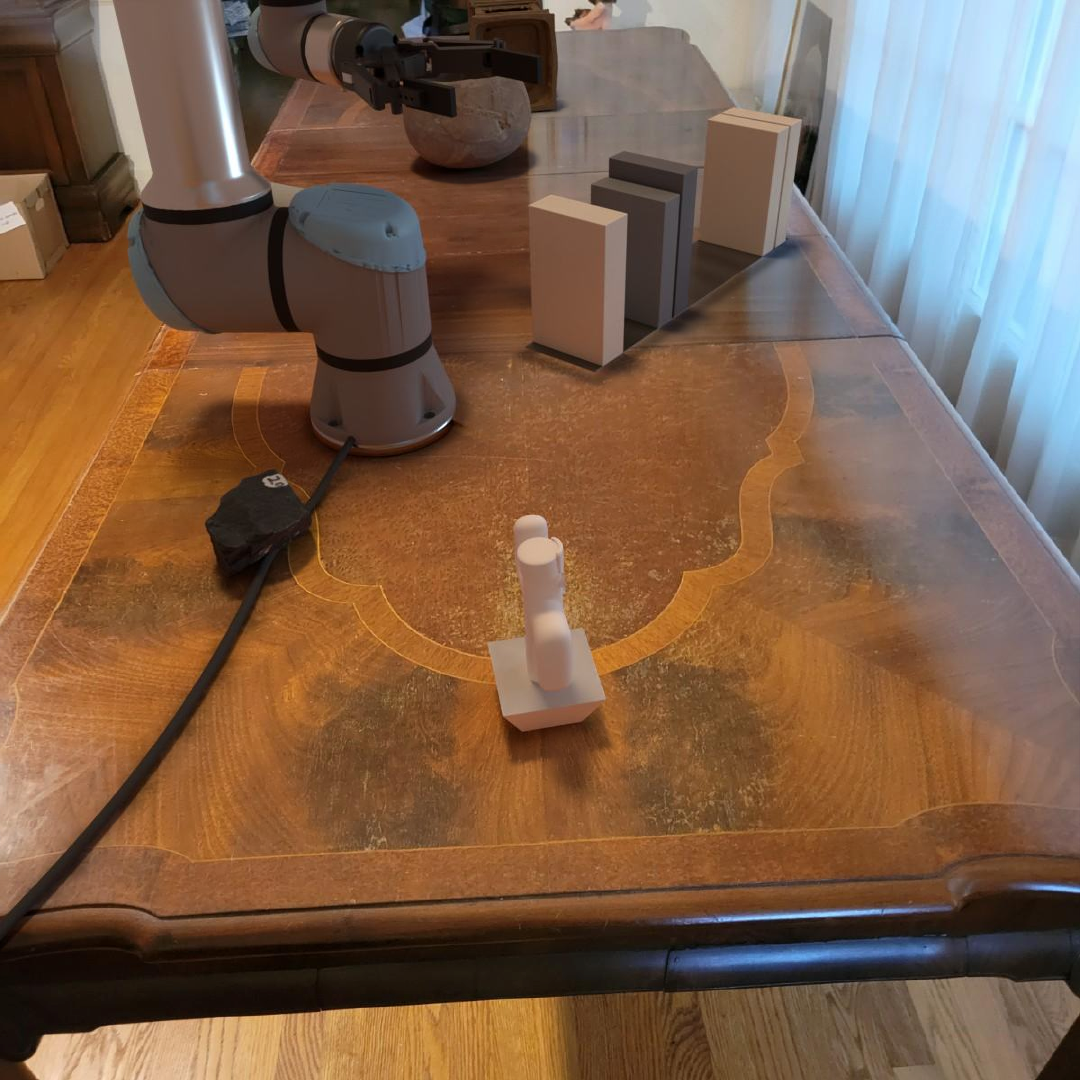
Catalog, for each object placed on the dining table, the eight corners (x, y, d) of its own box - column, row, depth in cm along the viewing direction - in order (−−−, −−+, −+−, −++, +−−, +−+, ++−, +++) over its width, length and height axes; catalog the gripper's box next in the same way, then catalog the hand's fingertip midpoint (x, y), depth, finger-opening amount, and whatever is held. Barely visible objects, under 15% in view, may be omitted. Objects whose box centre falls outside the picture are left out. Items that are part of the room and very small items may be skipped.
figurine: (508, 763, 68) (496, 604, 59) (487, 666, 75) (475, 511, 66) (609, 745, 69) (614, 587, 60) (579, 651, 76) (580, 497, 67)
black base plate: (594, 381, 109) (594, 372, 108) (524, 356, 114) (524, 346, 113) (788, 246, 136) (789, 238, 135) (725, 230, 141) (726, 222, 140)
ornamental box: (471, 82, 217) (454, -11, 206) (550, 67, 216) (537, -28, 205) (477, 124, 189) (457, 19, 178) (567, 107, 189) (553, 1, 177)
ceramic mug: (309, 250, 139) (300, 196, 134) (257, 245, 141) (247, 191, 136) (342, 224, 147) (334, 172, 142) (293, 219, 149) (284, 167, 144)
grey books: (658, 328, 115) (666, 183, 105) (589, 306, 120) (590, 166, 110) (687, 308, 119) (698, 166, 109) (619, 288, 124) (623, 150, 114)
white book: (602, 366, 109) (605, 225, 99) (532, 341, 114) (528, 205, 104) (623, 352, 111) (627, 213, 101) (553, 328, 116) (551, 193, 106)
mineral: (189, 534, 89) (173, 482, 85) (281, 497, 93) (269, 446, 89) (234, 594, 82) (219, 540, 79) (331, 552, 87) (320, 499, 83)
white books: (762, 256, 131) (778, 132, 121) (697, 240, 136) (707, 119, 126) (785, 241, 135) (802, 119, 125) (721, 225, 140) (733, 107, 130)
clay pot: (404, 186, 158) (393, 87, 149) (412, 146, 175) (403, 54, 165) (534, 182, 159) (531, 83, 149) (530, 142, 175) (528, 50, 165)
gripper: (435, 65, 121) (572, 94, 110) (276, 118, 106) (417, 157, 96) (429, -3, 116) (572, 20, 105) (262, 43, 101) (408, 75, 91)
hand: (498, 85), depth 100 cm, fingers open, 13 cm apart
